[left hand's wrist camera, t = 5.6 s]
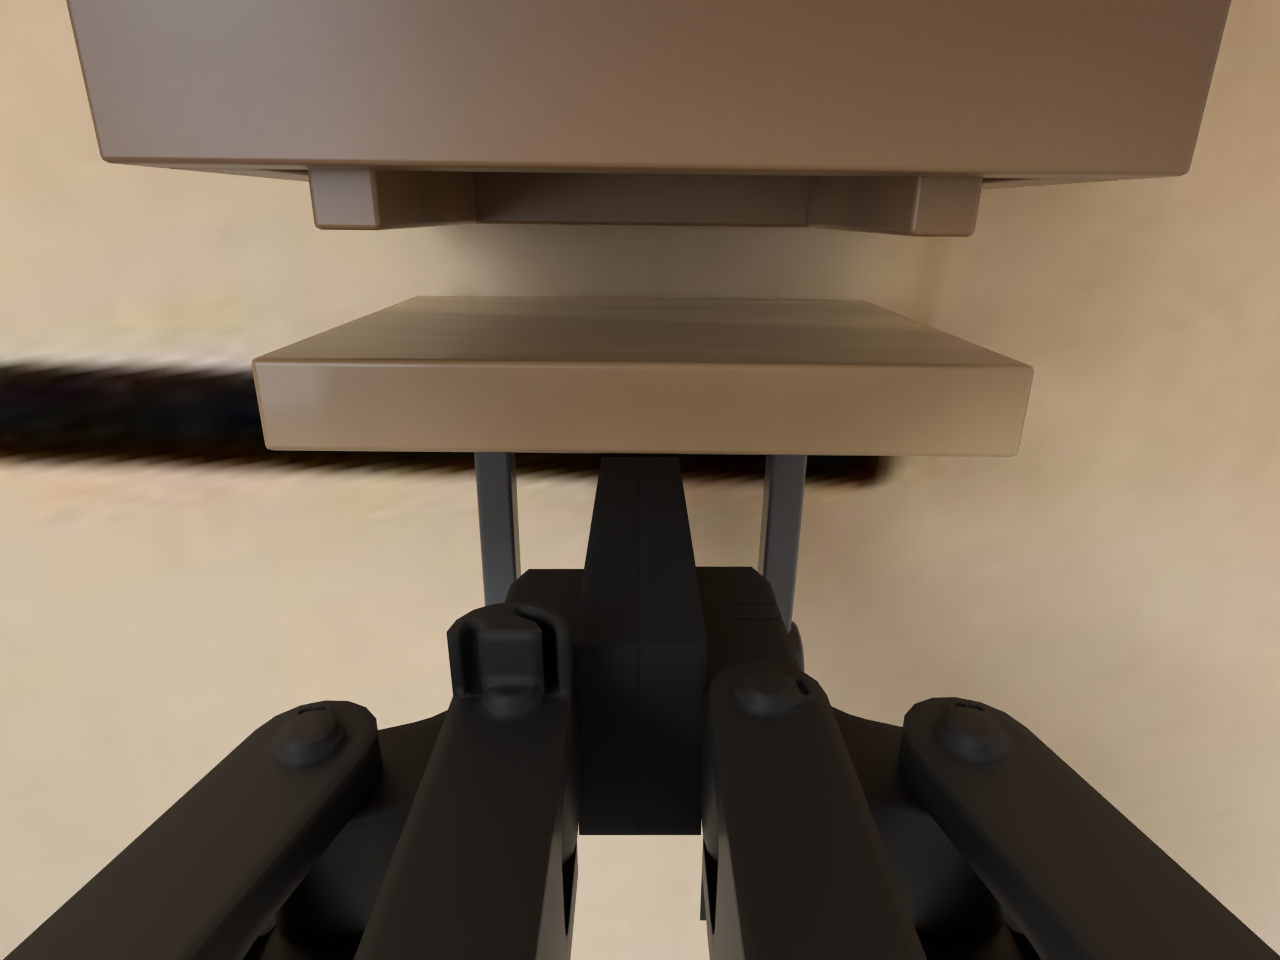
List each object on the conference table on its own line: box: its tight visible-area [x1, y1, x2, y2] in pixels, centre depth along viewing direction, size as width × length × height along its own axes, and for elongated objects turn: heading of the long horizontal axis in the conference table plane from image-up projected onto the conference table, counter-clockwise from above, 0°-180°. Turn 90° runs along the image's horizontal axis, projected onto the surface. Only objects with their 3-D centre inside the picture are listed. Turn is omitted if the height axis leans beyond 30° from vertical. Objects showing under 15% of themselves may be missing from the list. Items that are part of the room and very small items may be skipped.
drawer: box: [252, 170, 1033, 672], centre depth 11 cm, size 21×10×7 cm, turn 179°
